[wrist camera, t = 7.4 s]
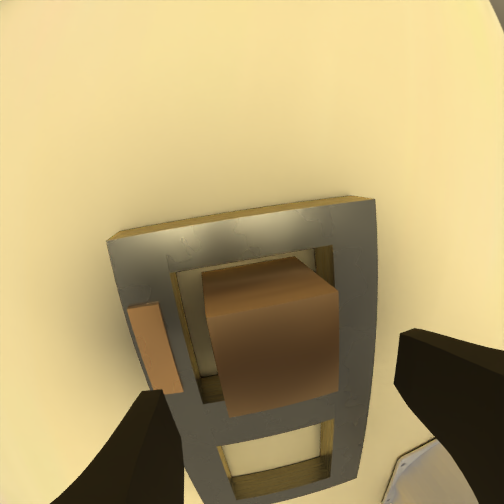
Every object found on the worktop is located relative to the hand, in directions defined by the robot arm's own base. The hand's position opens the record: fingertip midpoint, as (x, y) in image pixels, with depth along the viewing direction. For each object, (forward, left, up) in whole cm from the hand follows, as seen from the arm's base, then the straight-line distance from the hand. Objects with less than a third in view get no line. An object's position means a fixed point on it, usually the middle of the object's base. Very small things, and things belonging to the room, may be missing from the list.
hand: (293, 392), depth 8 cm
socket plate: (-4, 0, -6) cm, 7 cm away
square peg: (0, 0, -6) cm, 6 cm away
